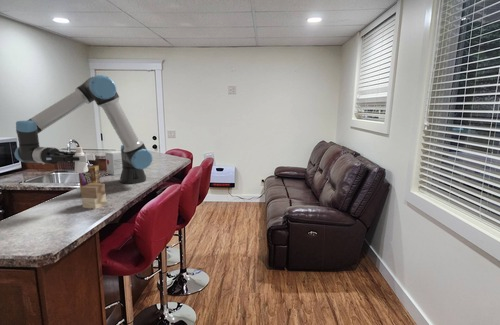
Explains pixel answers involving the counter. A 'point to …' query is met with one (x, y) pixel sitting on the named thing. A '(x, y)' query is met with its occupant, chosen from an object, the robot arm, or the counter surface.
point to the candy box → (89, 176)
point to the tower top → (93, 190)
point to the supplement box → (114, 162)
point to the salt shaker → (79, 166)
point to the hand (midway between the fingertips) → (90, 158)
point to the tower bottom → (94, 202)
